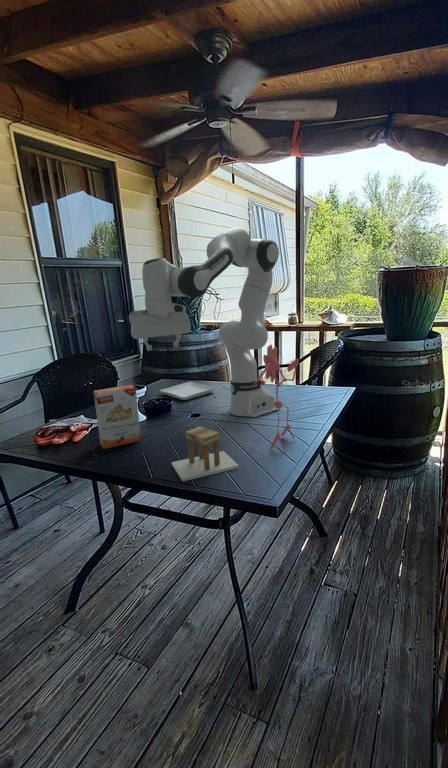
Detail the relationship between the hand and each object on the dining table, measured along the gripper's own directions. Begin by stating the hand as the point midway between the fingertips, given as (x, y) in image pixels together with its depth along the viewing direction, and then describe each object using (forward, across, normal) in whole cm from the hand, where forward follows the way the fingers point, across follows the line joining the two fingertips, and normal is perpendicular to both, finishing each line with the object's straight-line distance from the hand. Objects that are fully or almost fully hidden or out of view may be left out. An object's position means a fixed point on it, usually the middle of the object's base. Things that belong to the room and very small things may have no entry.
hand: (163, 348), depth 140 cm
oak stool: (+33, +3, -26) cm, 42 cm away
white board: (+34, +3, -26) cm, 43 cm away
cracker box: (+34, -18, +8) cm, 39 cm away
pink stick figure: (+35, +31, -20) cm, 51 cm away
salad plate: (+35, +24, +56) cm, 71 cm away
